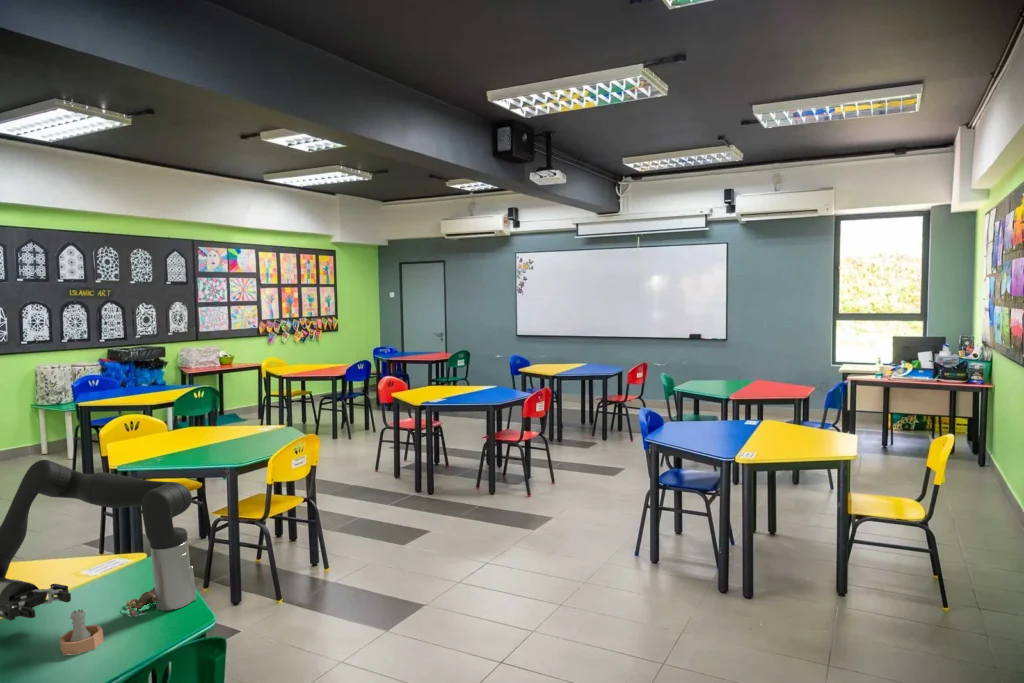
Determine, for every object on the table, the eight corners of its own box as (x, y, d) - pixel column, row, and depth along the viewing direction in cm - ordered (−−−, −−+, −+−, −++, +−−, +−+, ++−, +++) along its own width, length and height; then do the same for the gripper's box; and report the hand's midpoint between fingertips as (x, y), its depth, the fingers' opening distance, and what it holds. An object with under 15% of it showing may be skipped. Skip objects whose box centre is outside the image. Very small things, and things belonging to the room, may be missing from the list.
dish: (97, 632, 171) (96, 621, 170) (106, 644, 165) (105, 632, 164) (58, 646, 165) (56, 635, 164) (66, 659, 159) (64, 647, 158)
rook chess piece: (87, 635, 168) (84, 605, 167) (94, 641, 165) (91, 610, 164) (67, 644, 164) (63, 613, 163) (74, 649, 161) (70, 618, 161)
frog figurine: (152, 593, 193) (150, 580, 193) (175, 602, 186) (174, 589, 186) (111, 611, 183) (109, 597, 183) (134, 621, 177) (132, 607, 176)
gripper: (-19, 594, 168) (19, 604, 162) (40, 570, 181) (78, 579, 174) (-15, 622, 169) (23, 634, 162) (44, 597, 182) (81, 606, 175)
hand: (51, 605), depth 168 cm, fingers open, 8 cm apart
